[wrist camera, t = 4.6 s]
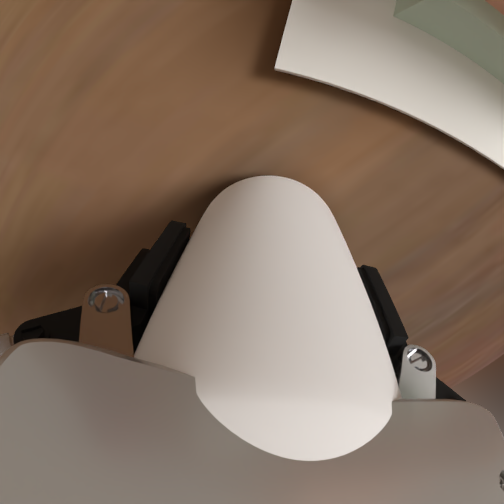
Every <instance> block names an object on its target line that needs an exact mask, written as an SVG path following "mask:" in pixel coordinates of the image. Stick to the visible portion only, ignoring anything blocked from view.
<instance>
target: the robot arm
mask: <svg viewBox="0 0 504 504" xmlns="http://www.w3.org/2000/svg"><path fill="white" fill-rule="evenodd" d="M189 238H190V228H186V223H181V222H177V221H171V222H170V223H169V224H168V226H167V227H166V228H165V230H164V231H163V233H162V234H161V235H160V237H159V238H158V240H157V241H156V243H155V244H154V245H153V247H152V248H151V250H149V249H145V248H144V249H142V250H141V251H140V252H139V254H138V255H137V256H136V258H135V259H134V260H133V262H132V263H131V265H130V266H129V267H128V269H127V270H126V272H125V273H124V274H123V276H122V277H121V279H120V280H119V282H118V283H117V285H113V284H101V285H97V286H94V287H92V288H91V289H89V290H88V291H87V292H86V294H85V295H84V298H83V304H82V306H80V307H76V308H73V309H69V310H65V311H61V312H58V313H54V314H50V315H47V316H43V317H39V318H36V319H32V320H29V321H26V322H24V323H23V324H21V325H20V326H19V327H18V328H17V330H16V331H15V334H14V335H13V336H9V333H5V334H2V335H0V504H504V438H503V435H502V433H501V430H500V428H499V426H498V424H497V422H496V420H495V418H494V417H493V415H492V414H491V413H490V412H489V411H488V410H486V409H485V408H483V407H481V406H479V405H476V404H473V403H471V402H467V401H466V400H464V399H463V398H462V397H460V396H459V395H458V394H457V393H456V392H454V391H453V390H452V389H451V388H449V387H448V386H447V385H445V384H444V383H443V382H442V381H440V380H439V379H438V378H437V377H436V365H435V361H434V359H433V357H432V356H431V354H430V353H429V352H428V351H426V350H425V349H424V348H422V347H420V346H417V345H408V346H407V343H406V340H407V339H408V336H407V333H406V331H405V329H404V326H403V324H402V322H401V319H400V317H399V315H398V313H397V310H396V308H395V306H394V304H393V302H392V300H391V297H390V295H389V293H388V291H387V289H386V287H385V285H384V283H383V281H382V279H381V276H380V274H379V272H378V270H377V269H376V268H374V267H370V266H366V265H362V266H361V267H360V268H359V267H358V268H357V270H358V272H359V275H360V277H361V280H362V282H363V285H364V287H365V290H366V292H367V295H368V297H369V300H370V303H371V305H372V308H373V311H374V313H375V316H376V319H377V321H378V324H379V327H380V330H381V333H382V336H383V339H384V341H385V344H386V347H387V350H388V353H389V357H390V360H391V363H392V366H393V369H394V373H395V376H396V379H397V383H398V386H399V390H400V393H401V397H402V398H401V399H397V400H395V401H392V415H391V417H390V419H389V421H388V422H387V424H386V425H385V426H384V428H383V429H382V430H381V431H380V432H379V433H378V434H377V435H376V436H375V437H374V438H373V439H371V440H370V441H369V442H367V443H366V444H364V445H363V446H361V447H360V448H358V449H356V450H354V451H352V452H350V453H348V454H345V455H342V456H339V457H336V458H332V459H327V460H319V461H303V460H294V459H288V458H284V457H281V456H277V455H274V454H271V453H269V452H266V451H264V450H261V449H259V448H257V447H255V446H253V445H252V444H250V443H248V442H246V441H245V440H243V439H241V438H240V437H238V436H237V435H236V434H234V433H233V432H231V431H230V430H229V429H228V428H226V427H225V426H224V425H223V424H222V423H220V422H219V421H218V420H217V419H216V418H215V417H214V416H213V415H212V414H211V413H210V412H209V410H208V409H207V408H206V407H205V406H204V404H203V403H202V402H201V400H200V398H199V397H198V395H197V393H196V382H195V377H193V376H190V375H188V374H185V373H182V372H180V371H177V370H174V369H172V368H169V367H166V366H163V365H160V364H156V363H152V362H148V361H145V360H141V359H137V358H134V354H135V351H136V349H137V347H138V345H139V342H140V340H141V338H142V336H143V334H144V331H145V329H146V327H147V325H148V323H149V320H150V318H151V316H152V314H153V312H154V310H155V308H156V305H157V303H158V301H159V299H160V297H161V295H162V293H163V291H164V289H165V287H166V285H167V283H168V281H169V279H170V277H171V275H172V273H173V271H174V269H175V267H176V265H177V263H178V261H179V259H180V257H181V255H182V253H183V251H184V249H185V247H186V246H187V244H188V242H189Z"/></svg>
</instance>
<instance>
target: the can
mask: <svg viewBox="0 0 504 504" xmlns="http://www.w3.org/2000/svg"><path fill="white" fill-rule="evenodd" d="M134 358H137V359H141V360H145V361H148V362H152V363H156V364H160V365H163V366H166V367H169V368H172V369H174V370H177V371H180V372H182V373H185V374H188V375H190V376H193V377H195V382H196V393H197V395H198V397H199V398H200V400H201V402H202V403H203V404H204V406H205V407H206V408H207V409H208V410H209V412H210V413H211V414H212V415H213V416H214V417H215V418H216V419H217V420H218V421H219V422H220V423H222V424H223V425H224V426H225V427H226V428H228V429H229V430H230V431H231V432H233V433H234V434H236V435H237V436H238V437H240V438H241V439H243V440H245V441H246V442H248V443H250V444H252V445H253V446H255V447H257V448H259V449H261V450H264V451H266V452H269V453H271V454H274V455H277V456H281V457H284V458H288V459H294V460H303V461H319V460H327V459H332V458H336V457H339V456H342V455H345V454H348V453H350V452H352V451H354V450H356V449H358V448H360V447H361V446H363V445H364V444H366V443H367V442H369V441H370V440H371V439H373V438H374V437H375V436H376V435H377V434H378V433H379V432H380V431H381V430H382V429H383V428H384V426H385V425H386V424H387V422H388V421H389V419H390V417H391V415H392V401H395V400H397V399H401V398H402V397H401V393H400V390H399V386H398V383H397V379H396V376H395V373H394V369H393V366H392V363H391V360H390V357H389V353H388V350H387V347H386V344H385V341H384V339H383V336H382V333H381V330H380V327H379V324H378V321H377V319H376V316H375V313H374V311H373V308H372V305H371V303H370V300H369V297H368V295H367V292H366V290H365V287H364V285H363V282H362V280H361V277H360V275H359V272H358V270H357V267H356V265H355V263H354V260H353V258H352V256H351V253H350V251H349V249H348V246H347V244H346V242H345V240H344V237H343V235H342V233H341V231H340V229H339V227H338V224H337V222H336V220H335V218H334V216H333V214H332V213H331V211H330V209H329V207H328V206H327V205H326V203H325V202H324V201H323V200H322V198H321V197H320V196H319V195H318V194H317V193H315V192H314V191H313V190H312V189H310V188H309V187H307V186H305V185H304V184H302V183H300V182H297V181H295V180H292V179H289V178H285V177H280V176H256V177H251V178H247V179H244V180H241V181H239V182H236V183H234V184H232V185H231V186H229V187H227V188H226V189H225V190H223V191H222V192H221V193H220V194H219V195H218V196H216V198H215V199H214V200H213V201H212V202H211V203H210V205H209V206H208V208H207V209H206V211H205V213H204V214H203V216H202V218H201V220H200V221H199V223H198V225H197V227H196V229H195V231H194V232H193V234H192V236H191V238H190V240H189V242H188V244H187V246H186V247H185V249H184V251H183V253H182V255H181V257H180V259H179V261H178V263H177V265H176V267H175V269H174V271H173V273H172V275H171V277H170V279H169V281H168V283H167V285H166V287H165V289H164V291H163V293H162V295H161V297H160V299H159V301H158V303H157V305H156V308H155V310H154V312H153V314H152V316H151V318H150V320H149V323H148V325H147V327H146V329H145V331H144V334H143V336H142V338H141V340H140V342H139V345H138V347H137V349H136V351H135V354H134Z"/></svg>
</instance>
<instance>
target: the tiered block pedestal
mask: <svg viewBox="0 0 504 504" xmlns="http://www.w3.org/2000/svg"><path fill="white" fill-rule="evenodd" d="M275 71H280V72H284V73H288V74H292V75H296V76H299V77H303V78H307V79H310V80H314V81H317V82H320V83H324V84H327V85H330V86H333V87H336V88H339V89H342V90H345V91H348V92H351V93H354V94H357V95H359V96H362V97H365V98H367V99H370V100H373V101H375V102H378V103H380V104H383V105H385V106H387V107H390V108H392V109H395V110H397V111H399V112H401V113H404V114H406V115H408V116H410V117H412V118H415V119H417V120H419V121H421V122H423V123H425V124H427V125H429V126H431V127H433V128H435V129H437V130H439V131H441V132H443V133H444V134H446V135H448V136H450V137H452V138H454V139H455V140H457V141H459V142H461V143H462V144H464V145H466V146H468V147H469V148H471V149H473V150H474V151H476V152H478V153H479V154H481V155H482V156H484V157H486V158H487V159H489V160H490V161H492V162H493V163H495V164H496V165H498V166H499V167H501V168H502V169H504V0H292V4H291V7H290V11H289V15H288V19H287V22H286V26H285V30H284V34H283V37H282V41H281V45H280V49H279V53H278V57H277V60H276V64H275Z"/></svg>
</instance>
